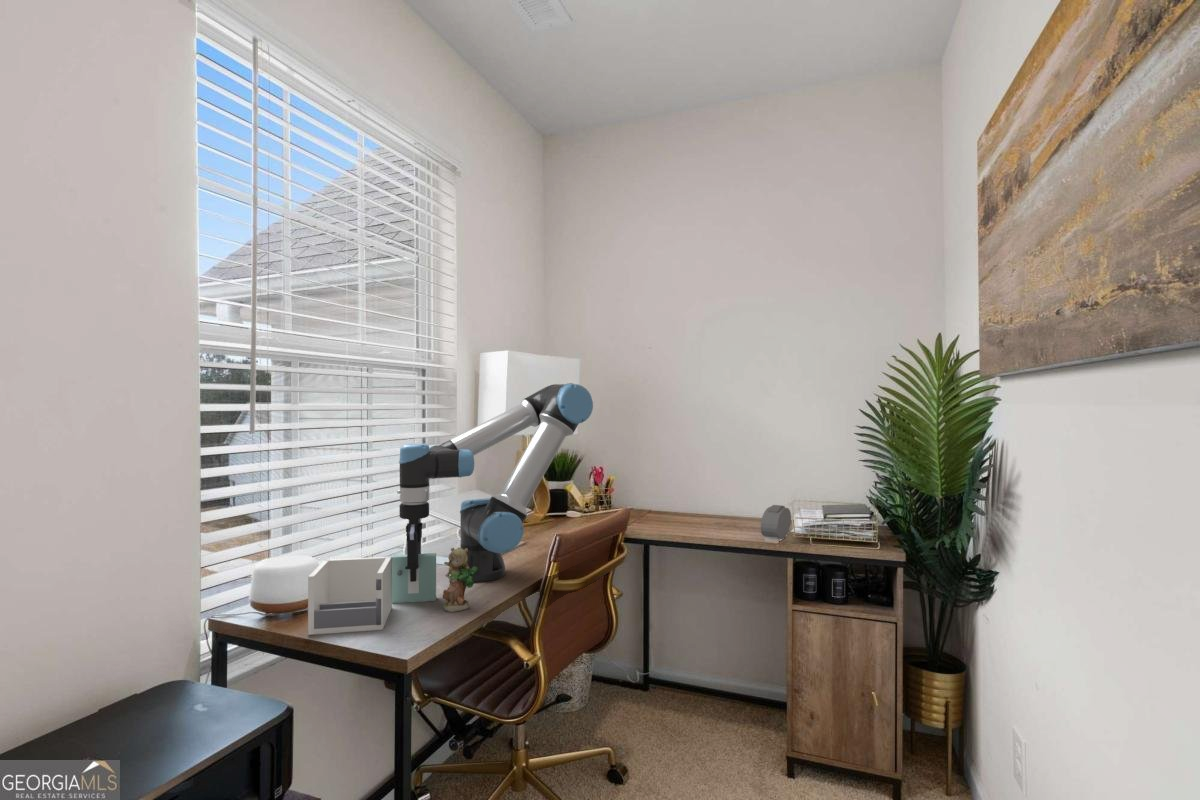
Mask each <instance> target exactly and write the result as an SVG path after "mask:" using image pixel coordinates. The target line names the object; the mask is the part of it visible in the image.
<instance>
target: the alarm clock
mask: <svg viewBox="0 0 1200 800" xmlns="http://www.w3.org/2000/svg"><path fill="white" fill-rule="evenodd" d="M791 512H792V511H791V509H790V508H788V507H786V506H784V505H780V504H772V505H771V506H768V507H767V508H766V509H765V510H764V512H763V514H762V517H761V521H760V526H759V527H760V533H761V535H762V537H764V542H765V541H779V540H780V539H783V538H784V537H785V536H786V535H787V534H788V533H789V531H790V528H791V524H792V513H791ZM787 536H788V535H787ZM787 536H786V537H787ZM786 537H785V538H786ZM785 538H784V539H785ZM784 539H783V540H784Z"/></svg>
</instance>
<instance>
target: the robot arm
mask: <svg viewBox="0 0 1200 800" xmlns="http://www.w3.org/2000/svg"><path fill="white" fill-rule="evenodd" d="M593 409H594V402H593V399H592V395H591V393H590V391H588V389H587V388H585V386H583V385H580V384H576V383H573V382H569V383H563V384H562V383H561V384H560V383H559V384H557V383H554V384H550V385H547V386H545V387H543V388H542V389H539V390H537V391H536V392H533V393H532V394H530V395H529V396H527V397H524V398H523V399H521V400H520V403H519V405H516V406H515V407H511V408H510V409H508V410H507V411H504V412H502V413H500V414H498V415H496V416H494V417H492V418H490V419H489V420H486V421H485V422H482V423H480V424H478V425H476V426H474V427H472V428H470V429H468V430H466V431H464V432H463V433H459V434H458V435H457V436H455V437H452V438H451V439H448V440H447V441H445V442H442V443H441V444H439V445H437V444H436V445H432V446H429V444H428V443H405V444H403V445H402V446H401V447H400V450H399V461H398V463H399V489H398V490H397V491H396V492H397V493H396V494H399V502H401V503H400V504H399V519H403V520H408V523H407V524H406V526H405V532H406V534H405V536H406V550H407V551H406V554H407V567H405V569H408V594H411V593H419V568H418V567H419V565H418V554H422V537H423V531H422V530H423V529H424V525H423V523H424V522H421V519H425V518H428V517H429V515H430V503H429V502H428V501H430V479H433V480H435V479H448V478H464V477H470V476H472V475H473V473H474V471H475V457H474V456H476V455H478V454H480V453H481V452H483V451H486V450H487V449H490V448H491V447H493V446H495V445H497V444H499V443H501V442H503V441H504V440H506V439H508V438H510V437H512V436H514V435H517V434H518V433H520V432H522V431H524V430H526V429H528V428H529V427H531V426H532V427H534V428H536V427H537V428H536V430H535V432H534V433H533V435H532V437H531V439H530V440H529V442H528V444H527V446H526V448H525V449H524V451H523V452H522V454H521V456H520V458H519V460H518V461H517V463H516V465H515V467H513V469H512V471H511V473H510V475H509V476H508V479H507V480H506V482H505V484H504V485H503V487H502V488H501V491H500V492H499V493H497V494H493V495H492V496H491V497H487V498H474V499H473V498H472V499H466V500H465V499H464V500H462V502H461V503H460V510H459V514H460V548H462V549H463V550H465V548H466V549H468V551H467V556H468V560H467V564H468V567H469V569H471V568H472V567H477V568H478V570H477V573H475V574H474V575H473V576H472V578H473V582H474V583H478V582H479V583H481V582H488V581H489V582H490V581H494V580H497V579H500V578H502V577H504V576H505V574H506V564H505V561H504V558H503V556H502V554H504V553H508V552H510V551H513V550H514V549H515V548H516V547H517V546H519V544H520V542H521V541H522V539H523V536H524V522H525V520H526V519H527V517H528V512H527V506H528V504H529V503H530V501H531V498H533V496H534V494H535V492H536V490H537V488H538V486H539V485H540V483H541V481H542V480H543V478H544V476H545V474H546V473H547V471H548V469H549V467H550V465H551V464H552V462H553V460H554V458H555V457H556V454H557V453H558V451H559V449H560V447H561V445H562V443H563V442H564V440H565V439H566V437H569V436H572V435H573V434H574V432H575V431H576V429H577V427H578V426H579V424H582V423H584V422H585V421H587V420H588V419H589V418H590V417H591V415H592V412H593ZM469 569H468V570H469Z"/></svg>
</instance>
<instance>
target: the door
mask: <svg viewBox="0 0 1200 800" xmlns="http://www.w3.org/2000/svg"><path fill="white" fill-rule="evenodd" d="M418 565H419V567H418V568H419V593H411V594H408V569H405V567H407V553H406V554H405V553H404V554H393V555H392V604H403V603H404V604H405V603H417V602H419V603H420V602H436V599H437V553H436V552H430V553H429V552H428V553H426V552H425V553H421V554H418Z"/></svg>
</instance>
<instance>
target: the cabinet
mask: <svg viewBox="0 0 1200 800" xmlns="http://www.w3.org/2000/svg"><path fill="white" fill-rule="evenodd" d="M392 556H393V555H392ZM392 556H391V555H389V556H379V557H378V556H376V557H375V556H374V557H357V558H356V557H355V558H351V557H350V558H334V559H333V558H332V559H331V558H327V559H326V558H325V559H324V560H323V561H322V562H321V563H320V564H319V565H318V566H317V567H315V568H314V570H313V571H312V572H311V573H310V574H309V575H308V576H307V577H308V578H307V579H308V580H307V588H308V589H307V593H308V594H307V604H308V605H307V612H308V613H307V615H308V616H307V618H308V619H307V628H308V629H307V635H309V636H310V635H313V636H314V635H326V634H337V633H338V634H340V633H351V632H352V633H355V632H367V631H368V632H370V631H381V630H382V631H383V630H384V627H385V625H386V622H387V620H388V618H389V615H390V613H391V611H392V608H393V603H392Z"/></svg>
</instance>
